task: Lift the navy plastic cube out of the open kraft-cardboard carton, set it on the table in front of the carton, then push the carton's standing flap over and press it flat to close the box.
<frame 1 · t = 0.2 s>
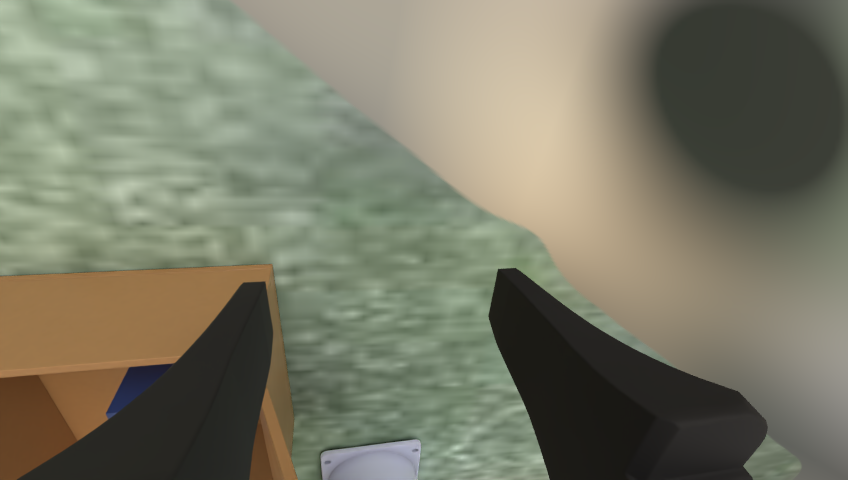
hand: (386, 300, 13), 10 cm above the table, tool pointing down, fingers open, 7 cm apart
carton: (166, 361, 26), on the table
cube: (200, 363, 26), resting on carton
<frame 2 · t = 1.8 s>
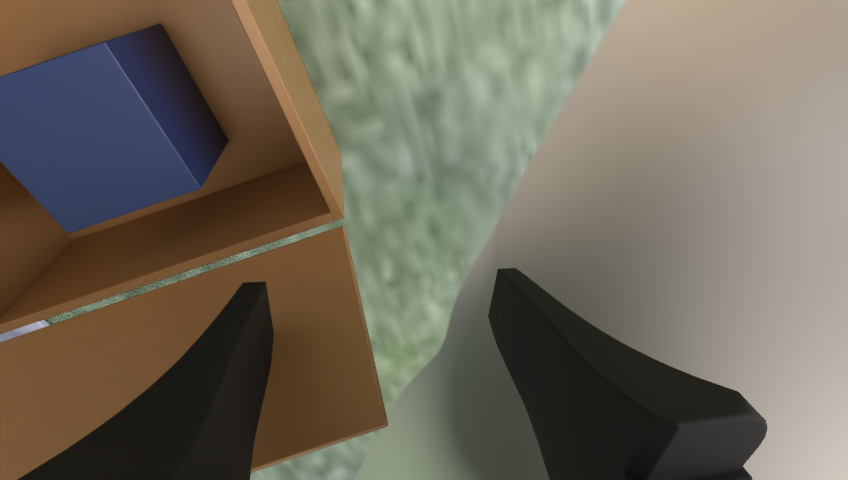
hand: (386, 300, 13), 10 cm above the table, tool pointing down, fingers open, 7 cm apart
flap: (153, 384, 13), point 10 cm above the table, hinge at 112.9°, touching gripper
carton: (113, 55, 17), on the table
cube: (141, 105, 18), resting on carton
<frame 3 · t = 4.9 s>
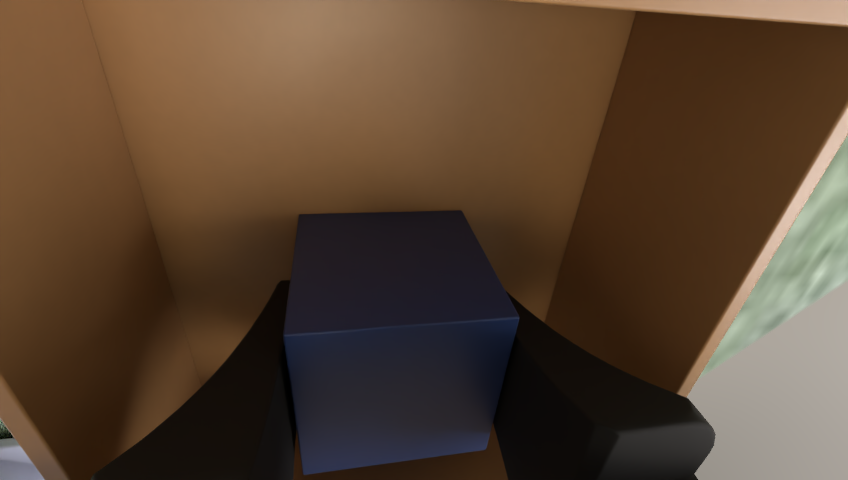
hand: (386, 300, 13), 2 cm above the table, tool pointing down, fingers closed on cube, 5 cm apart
carton: (383, 219, 14), on the table
cube: (381, 277, 14), resting on carton, touching gripper
when the fingers open (1 cm above the table, at t = 10.2 s): cube stays where it is, on the table.
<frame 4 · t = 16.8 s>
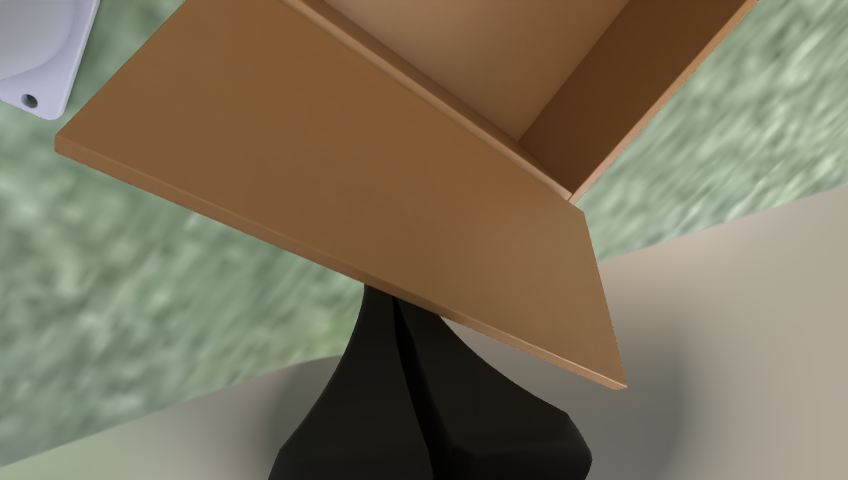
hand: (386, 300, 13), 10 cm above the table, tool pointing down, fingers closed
flap: (437, 195, 11), point 10 cm above the table, hinge at 112.6°
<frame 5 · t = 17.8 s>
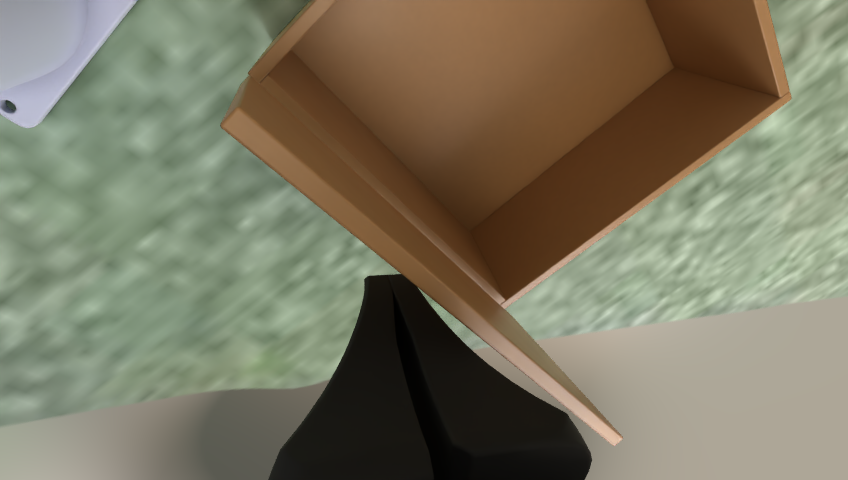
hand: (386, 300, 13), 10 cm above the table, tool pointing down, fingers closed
flap: (441, 270, 12), point 10 cm above the table, hinge at 78.6°
carton: (495, 55, 19), on the table
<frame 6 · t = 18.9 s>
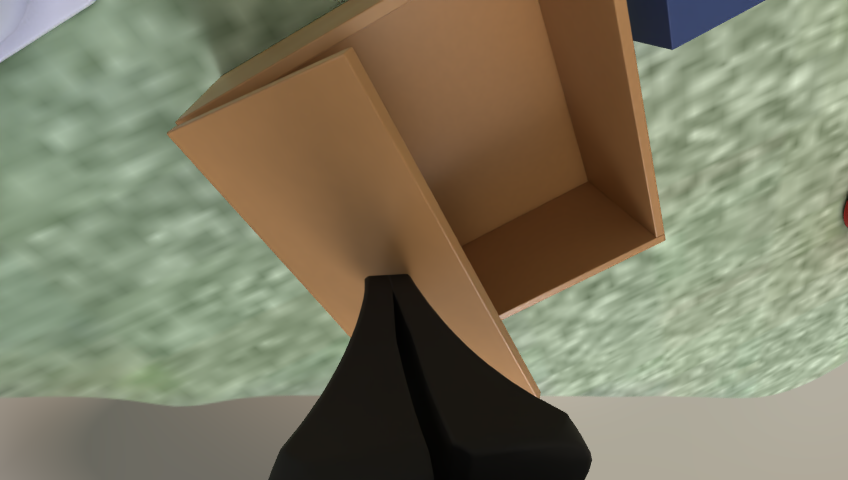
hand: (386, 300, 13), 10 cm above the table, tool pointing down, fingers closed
flap: (381, 282, 14), point 9 cm above the table, hinge at 32.5°, touching gripper
carton: (434, 136, 21), on the table
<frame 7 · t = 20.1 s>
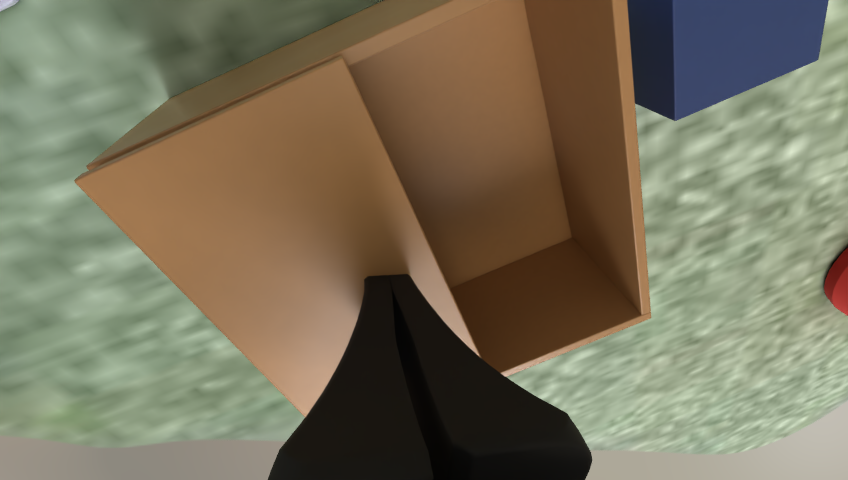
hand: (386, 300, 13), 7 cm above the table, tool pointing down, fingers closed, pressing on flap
flap: (344, 314, 13), point 7 cm above the table, hinge at -0.6°, touching gripper
carton: (410, 180, 19), on the table
cube: (648, 1, 17), on the table
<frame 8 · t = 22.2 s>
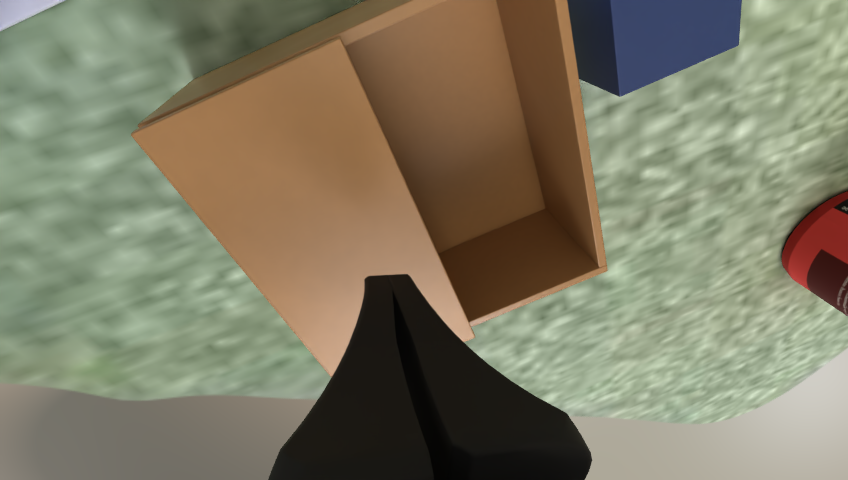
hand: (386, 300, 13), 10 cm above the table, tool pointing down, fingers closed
flap: (342, 256, 16), point 7 cm above the table, hinge at -0.6°
carton: (400, 154, 22), on the table
canned food: (826, 231, 31), on the table
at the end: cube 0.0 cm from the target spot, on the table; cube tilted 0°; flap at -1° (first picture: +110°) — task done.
